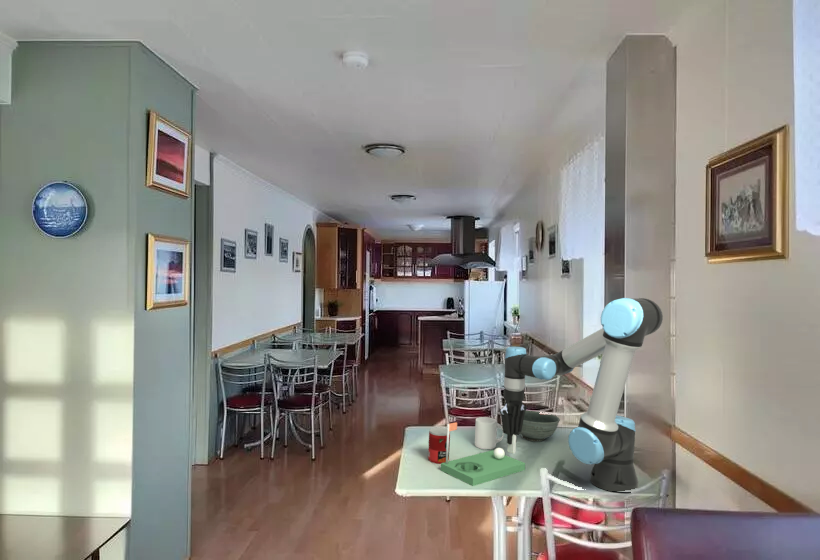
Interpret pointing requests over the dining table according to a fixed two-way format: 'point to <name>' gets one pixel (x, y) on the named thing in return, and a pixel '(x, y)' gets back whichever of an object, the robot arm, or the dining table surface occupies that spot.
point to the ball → (499, 453)
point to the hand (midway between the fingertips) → (511, 452)
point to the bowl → (538, 425)
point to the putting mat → (479, 465)
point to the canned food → (438, 445)
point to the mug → (486, 433)
